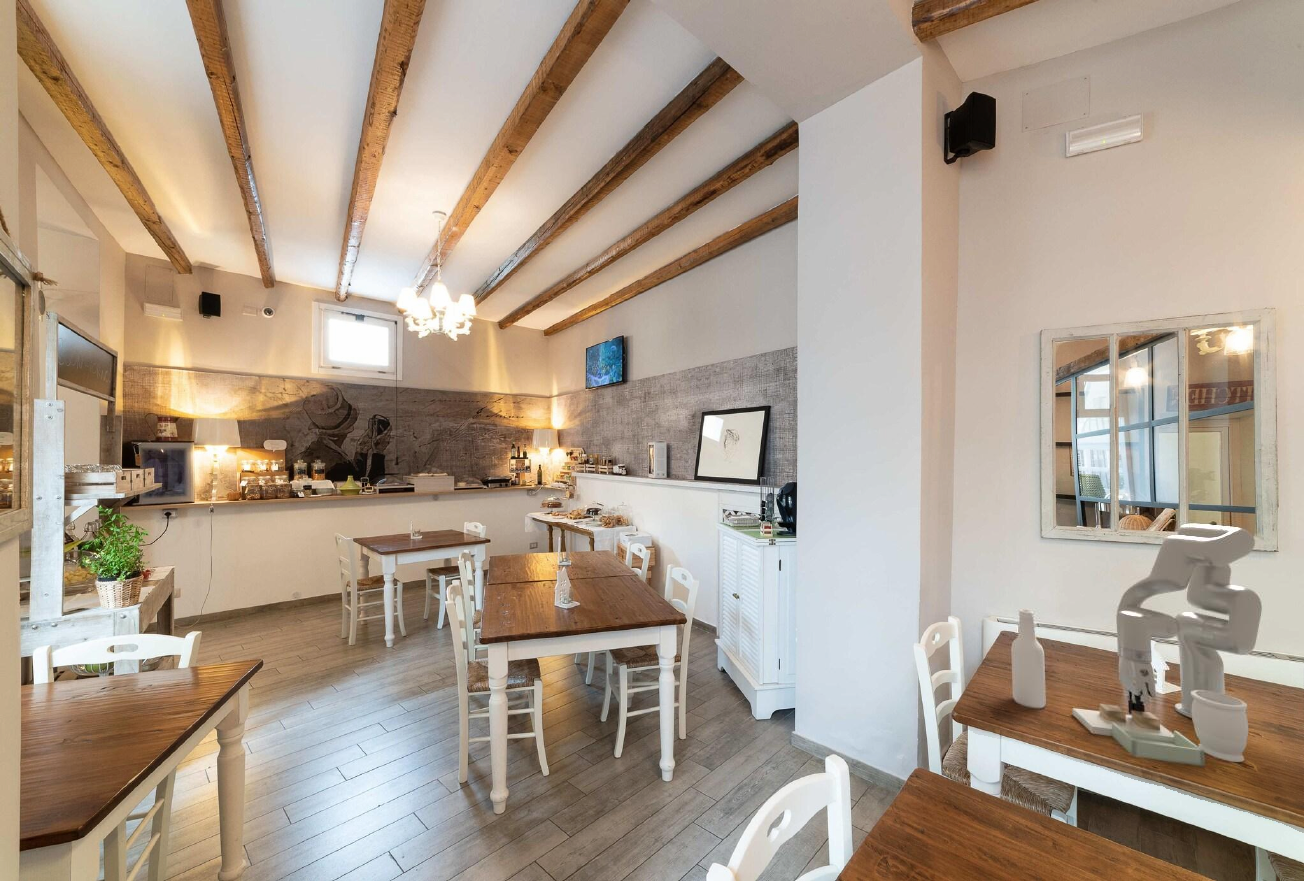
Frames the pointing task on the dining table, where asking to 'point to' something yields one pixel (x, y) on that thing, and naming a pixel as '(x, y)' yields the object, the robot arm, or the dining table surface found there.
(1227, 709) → the jar
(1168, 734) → the board
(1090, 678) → the dining table surface
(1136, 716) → the tan faceted block
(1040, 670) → the alcohol
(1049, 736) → the dining table surface
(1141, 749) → the tray
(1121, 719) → the tan block
